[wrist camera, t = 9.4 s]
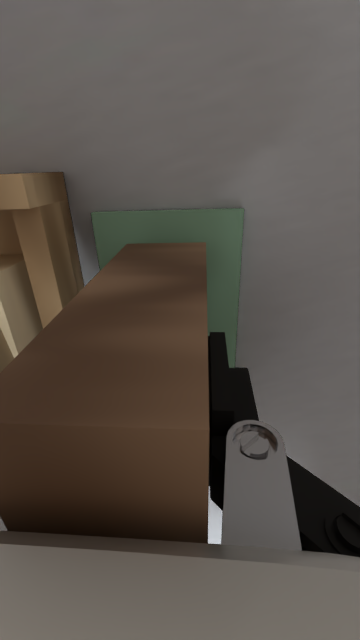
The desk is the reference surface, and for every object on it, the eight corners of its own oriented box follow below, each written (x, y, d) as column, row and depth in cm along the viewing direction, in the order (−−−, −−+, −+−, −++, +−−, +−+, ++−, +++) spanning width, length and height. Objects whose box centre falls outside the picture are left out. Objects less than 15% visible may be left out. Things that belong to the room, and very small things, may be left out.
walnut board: (206, 242, 11) (209, 430, 3) (204, 405, 15) (205, 682, 7) (126, 243, 12) (-49, 421, 4) (145, 404, 15) (78, 670, 7)
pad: (242, 208, 12) (244, 209, 12) (231, 403, 16) (232, 408, 16) (94, 211, 12) (90, 213, 12) (122, 400, 17) (121, 405, 17)
